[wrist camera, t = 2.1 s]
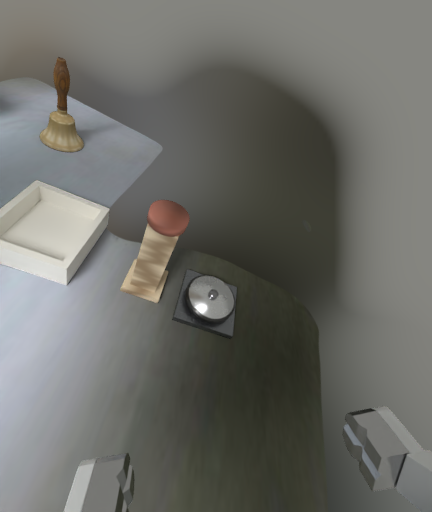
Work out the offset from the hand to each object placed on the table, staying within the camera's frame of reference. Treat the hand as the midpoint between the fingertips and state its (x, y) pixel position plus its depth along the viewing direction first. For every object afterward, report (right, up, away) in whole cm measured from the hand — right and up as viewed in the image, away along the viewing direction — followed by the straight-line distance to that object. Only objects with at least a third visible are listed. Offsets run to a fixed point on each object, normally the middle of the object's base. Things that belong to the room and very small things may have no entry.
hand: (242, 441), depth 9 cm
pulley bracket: (-3, -1, +35) cm, 35 cm away
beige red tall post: (-13, +3, +33) cm, 35 cm away
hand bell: (-35, +32, +47) cm, 67 cm away
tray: (-27, +10, +31) cm, 42 cm away
